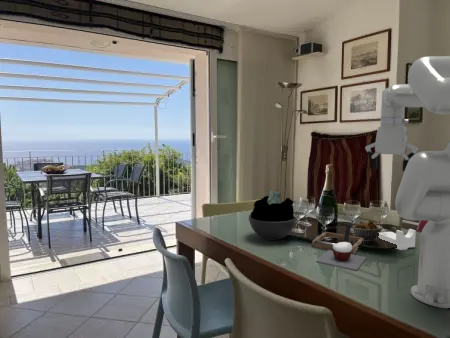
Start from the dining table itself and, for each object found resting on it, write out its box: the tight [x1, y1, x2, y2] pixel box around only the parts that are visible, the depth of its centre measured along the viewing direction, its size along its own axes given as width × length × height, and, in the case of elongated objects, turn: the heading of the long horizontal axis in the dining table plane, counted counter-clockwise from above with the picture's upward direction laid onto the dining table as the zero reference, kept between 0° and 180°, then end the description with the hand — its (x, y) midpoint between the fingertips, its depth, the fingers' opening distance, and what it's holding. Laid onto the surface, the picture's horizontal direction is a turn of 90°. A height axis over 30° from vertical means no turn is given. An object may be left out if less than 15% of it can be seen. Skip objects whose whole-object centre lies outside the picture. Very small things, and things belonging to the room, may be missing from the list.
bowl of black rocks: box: [248, 195, 297, 241], centre depth 148 cm, size 20×20×19 cm
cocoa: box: [333, 222, 353, 261], centre depth 123 cm, size 10×6×12 cm, turn 115°
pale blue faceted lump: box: [267, 189, 281, 205], centre depth 183 cm, size 18×20×18 cm
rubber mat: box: [315, 250, 367, 272], centre depth 124 cm, size 14×14×1 cm
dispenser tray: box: [311, 231, 364, 255], centre depth 140 cm, size 16×16×3 cm
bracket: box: [378, 228, 417, 251], centre depth 142 cm, size 13×7×8 cm, turn 17°
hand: (389, 170), depth 125 cm, fingers open, 9 cm apart
